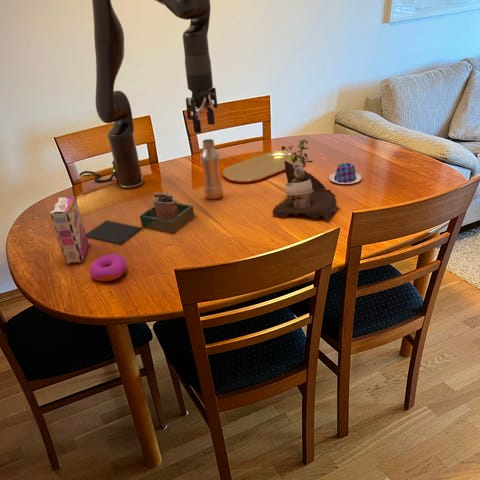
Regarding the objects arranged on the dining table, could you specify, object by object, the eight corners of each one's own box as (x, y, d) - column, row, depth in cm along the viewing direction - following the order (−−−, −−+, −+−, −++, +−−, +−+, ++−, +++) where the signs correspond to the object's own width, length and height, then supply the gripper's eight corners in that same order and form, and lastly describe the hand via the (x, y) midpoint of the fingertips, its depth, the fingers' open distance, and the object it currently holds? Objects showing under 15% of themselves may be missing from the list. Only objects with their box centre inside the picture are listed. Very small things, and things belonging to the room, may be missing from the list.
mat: (84, 236, 149) (84, 235, 149) (106, 221, 156) (106, 220, 156) (120, 244, 143) (120, 243, 143) (141, 228, 150) (141, 227, 150)
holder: (142, 226, 152) (139, 215, 149) (164, 210, 160) (162, 200, 158) (173, 233, 147) (171, 221, 144) (194, 216, 155) (192, 205, 152)
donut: (102, 263, 135) (98, 250, 132) (134, 265, 133) (131, 251, 130) (86, 283, 127) (82, 269, 124) (121, 285, 125) (117, 271, 122)
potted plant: (272, 225, 151) (262, 145, 142) (287, 214, 167) (279, 141, 158) (333, 220, 143) (326, 135, 134) (342, 209, 160) (337, 132, 150)
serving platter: (310, 162, 186) (310, 158, 185) (242, 188, 170) (242, 184, 169) (279, 152, 198) (279, 148, 197) (213, 175, 182) (213, 171, 181)
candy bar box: (83, 263, 136) (67, 211, 126) (66, 264, 136) (48, 213, 125) (90, 244, 145) (75, 195, 134) (74, 246, 144) (57, 196, 134)
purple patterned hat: (351, 171, 176) (352, 157, 173) (367, 182, 167) (369, 167, 164) (323, 176, 174) (323, 163, 171) (338, 188, 165) (339, 174, 162)
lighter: (181, 220, 153) (176, 191, 147) (177, 225, 151) (172, 196, 145) (160, 218, 156) (154, 190, 149) (155, 222, 153) (149, 194, 147)
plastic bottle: (221, 201, 163) (215, 144, 150) (203, 200, 164) (195, 144, 152) (225, 193, 168) (220, 137, 155) (207, 193, 169) (201, 137, 157)
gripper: (199, 65, 140) (205, 121, 151) (174, 76, 131) (182, 134, 141) (221, 66, 137) (225, 122, 148) (197, 77, 128) (203, 136, 138)
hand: (204, 128), depth 144 cm, fingers open, 8 cm apart
